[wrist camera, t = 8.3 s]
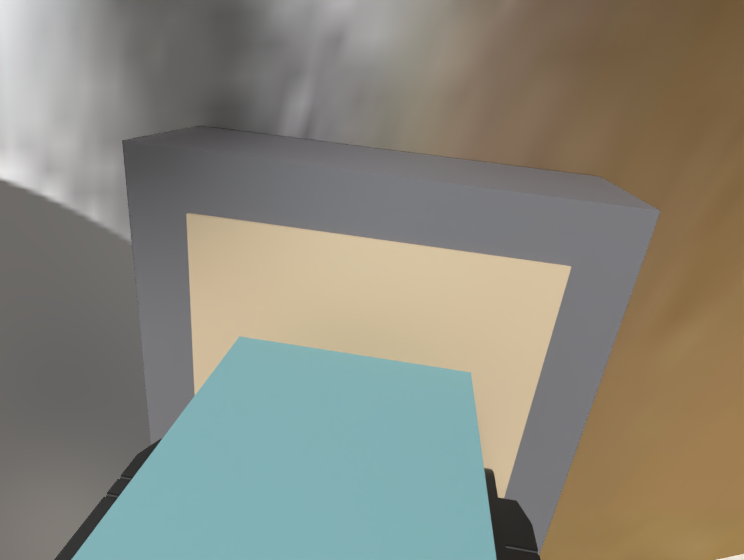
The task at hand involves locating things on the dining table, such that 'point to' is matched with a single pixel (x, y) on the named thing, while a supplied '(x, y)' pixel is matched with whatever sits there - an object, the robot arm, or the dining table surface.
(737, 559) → the milk
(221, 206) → the plinth
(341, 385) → the teal block
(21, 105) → the dining table surface
